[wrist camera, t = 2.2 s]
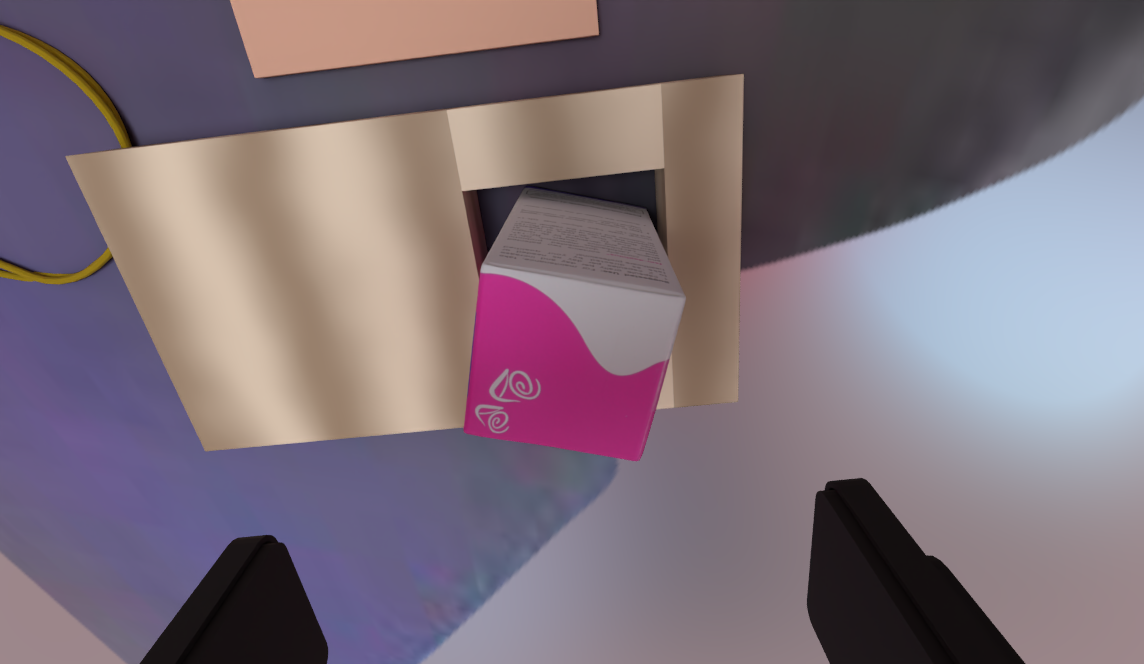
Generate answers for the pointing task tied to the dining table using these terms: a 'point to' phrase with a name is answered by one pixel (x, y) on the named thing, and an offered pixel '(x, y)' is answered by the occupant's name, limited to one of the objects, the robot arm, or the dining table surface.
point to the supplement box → (572, 326)
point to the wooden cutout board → (398, 251)
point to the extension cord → (111, 116)
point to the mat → (397, 29)
